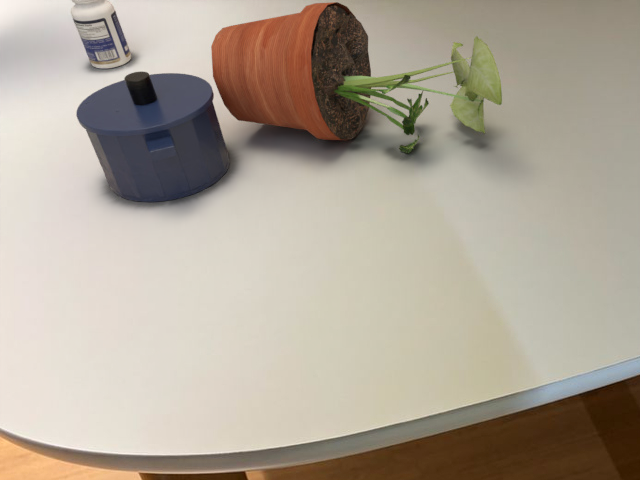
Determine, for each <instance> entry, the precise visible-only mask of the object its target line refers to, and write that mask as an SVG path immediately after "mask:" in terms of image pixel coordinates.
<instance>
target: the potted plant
mask: <svg viewBox="0 0 640 480" xmlns="http://www.w3.org/2000/svg"><path fill="white" fill-rule="evenodd" d="M452 43H453V44H452V48H451V55H450V60H451V61H449V62H444V63H442V64H441V63H440V64H438V65H434V66H429V67H426V68H422V69H417V70H413V71H408V72H403V73H397V74H390V75H385V76H378V77H375V76H372V70H371V69H372V68H371V60H370V55H369V35H368V33H367V32H366V29H365V28H364V26H363V24H362V22H361V21H360V20H359V19H358V18H357V17H356V16H355V14H354V13H353V12H352V10H350V8H349V7H348V6H346V5H345V4H342V3H340V2H338V1H335V2H333V1H332V2H316V3H312V4H308V5H305V6H304V8H302V10H301V11H300V12H297V13H291V14H286V15H280V16H276V17H275V16H274V17H269V18H264V19H260V20H254V21H249V22H243V23H238V24H234V25H229V26H225V27H222V28H221V29H220V30H219V31H218V32H217V33H216V34H215V36H214V39H213V41H212V44H211V47H210V48H211V49H210V50H211V65H212V78H213V80H214V83H215V86H216V88H217V91H218V93H219V96H220V98H221V101H222V104H223V105H224V107H225V108H226V109H227V110H228V112H229V113H230V114H231V116H233V117H234V118H235V119H236V120H237V121H239V122H248V123H257V124H263V125H269V126H275V127H282V128H289V129H297V130H302V131H303V130H304V131H307V132H308V133H310V135H312V136H313V137H315V138H316V139H317V140H324V141H350V140H353V138H355V137H356V136H358V135H359V134H360V132H361V130H362V129H363V127H364V125H365V123H366V120H367V116H368V113H369V110H370V109H371V110H373V111H375V112H377V113H379V114H381V115H382V116H384V117H386V119H388V120H389V121H390V122H391V123H392V124H394V125H396V126H397V127H399V128H400V129H402V130H403V133H404V135H406V136H410V135H411V136H413V135H414V134H415V131H416V130H415V125H416V123H417V119H418V118H419V116H421V114H423V112H424V111H425V110H426V108H427V107H428V105H430V104H429V103H430V102H429V100H428V98H427V97H426V98H425V99H424V104H423V105H422V104H421V102H422V97H423V93H424V91H425V92H430V93H436V94H440V95H444V96H448V97H453V99H452V101H451V103H450V105H449V107H450V109H451V112H452V114H453V116H454V117H455V118H456V119H457V120H458V121H460V122H461V124H462V125H464V126H465V127H467V128H470V129H472V130H473V131H475V132H477V133H479V132H480V133H482V134H484V135H485V134H486V130H485V129H486V128H485V113H484V110H485V109H484V100H485V99H486V100H487V101H488V102H489V101H490V102H492V103H493V104H495V105H498V106H501V105H502V104H503V95H502V93H503V92H502V81H501V76H500V73H499V68H498V67H497V66H498V65H497V63H496V60H495V57H494V55H493V53H492V51H491V49H490V47H489V45H488V43H486V42H484V40H483V39H482V38H479V36H477V35H476V36H475V37H474V39H473V46H472V53H471V56H470V57H466V58H464V57H463V56H462V54H461V53H460V52H459V51H458V48H461V47H463V46H464V43H461V42H455V41H454V42H452ZM469 59H471V60H470V65H469V62H468V61H467V60H469ZM449 65H452V69H453V71H448V72H443V73H439V74H433V75H429V76H425V77H421V78H416V79H411V78H412V77H414V76H417V75H420V74H424V73H427V72H431V71H433V70H437V69H439V68H442V67H446V66H449ZM449 74H454V77H455V81H456V85H454V87H455V88H456V89H459V90H458V91H457V92H456V94H453V93H449V92H445V91H440V90H435V89H431V88H428V87H424V86H419V85H416V84H414V83H420V82H422V81H427V80H430V79H433V78H437V77H441V76H446V75H449ZM458 86H460V88H459V87H458ZM378 88H379V89H378ZM395 89H407V90H408V89H409V90H417V91H421V93H418V95H417V96H418V97H417V98H416V100H415V101H414V103H413V100H412V98H407V103H409V105H407V104H406V103H403V102H402V101H399V100H397V99H396V98H395V97H392V96H389V95H387V93H389V92H391V91H393V90H395ZM371 97H375V98H379V99H382V100H386V101H390V102H393V103H394V104H395V105H396V106H399V108H400V107H401V108H403V109H404V110H407V111H408V115H407V114H405V113H404V112H403V111H401V110H399V109H397V108H395V107H394V106H390V105H387V104H385V103H383V102H380V101H377V100H376V99H373V98H371ZM372 104H374V105H377V106H380V107H382V108H386V109H387V110H388V111H389V112H391V113H393V114H394V115H397V116H399V117H401V118H403V120H401V122H400V121H398V120H397V119H396V118H394V117H393V116H391V115H389V114H387V113H386V112H384V111H382V110H380V109H379V108H377V107H376V106H374V105H372ZM420 138H421V136H420V135H419V134H417V138H416V139H414V141H413V142H411V143H408V144H405V145H403V144H400V145H399V147H398V150H399V151H400V152H401V153H404V154H409V153H411V151H413V150H414V148H415V146H416V144H418V141H419V139H420Z"/></svg>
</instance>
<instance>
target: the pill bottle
mask: <svg viewBox="0 0 640 480" xmlns="http://www.w3.org/2000/svg"><path fill="white" fill-rule="evenodd" d="M71 2H72V3H73V4H74V5H73V6H72V7H71V9H70V14H71V17H72V20H73V23H74V26H75V28H76V30H77V33H78V36H79V38H80V40H81V43H82V45H83V47H84V50H85V53H86V55H87V57H88V60H89V62H90V64H91V65H92V67H94V68H97V69H112V68H117V67H120V66H123V65H126V64H127V63H129V61H130V60H131V59H132V53H131V51H130V47H129V44H128V42H127V39H126V35H125V33H124V31H123V28H122V26H121V23H120V20H119V17H118V15H117V12H116V9H115V7H114V5H113V3H112V2H110V1H109V0H71Z"/></svg>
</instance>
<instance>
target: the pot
mask: <svg viewBox="0 0 640 480" xmlns="http://www.w3.org/2000/svg"><path fill="white" fill-rule="evenodd" d="M213 101H214V100H213ZM213 101H212V103H211V105H210V106H209V107H208V108H207V109H206V110H205V111H204V112H203V113H201V114H200V115H198V116H197V117H195V118H193V119H192V120H190V121H188V122H185V123H183V124H181V125H178V126H176V127H173V128H170V129H166V130H163V131H159V132H155V133H150V134H144V135H136V136H105V135H100V134H95V133H92V132H90V131H88V130H86V129H85V131H86V134H87V136H88V138H89V140H90V143H91V145H92V148H93V150H94V152H95V155H96V158H97V160H98V162H99V165H100V168H101V169H102V171H103V173H104V176H105V178H106V181H107V184H108V186H109V187H110V188H111V190H112V191H113V192H114V193H115V194H116V195H117V196H119V197H121V198H122V199H125V200H129V201H134V202H140V203H141V202H142V203H157V202H168V201H173V200H177V199H182V198H185V197H189V196H191V195H194V194H197V193H199V192H201V191H203V190H205V189H208V188H209V187H211V186H212V185H214V184H215V183H217V182H218V181H220V179H221V178H222V177H224V176H225V174H226V173H227V172H228V170H229V168H230V155H229V151H228V149H227V144H226V142H225V138H224V135H223V131H222V129H221V125H220V121H219V118H218V114H217V111H216V108H215V104H214V102H213Z"/></svg>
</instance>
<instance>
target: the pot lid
mask: <svg viewBox="0 0 640 480" xmlns="http://www.w3.org/2000/svg"><path fill="white" fill-rule="evenodd" d="M212 101H214V90H213V86H212V85H211V84H210V83H209V82H208V81H207V80H206V79H204V78H202V77H200V76H197V75H194V74H193V75H192V74H188V73H177V72H176V73H175V72H173V73H172V72H166V73H152V74H151V73H149V72H147V71H135V72H130V73H128V74H126V75H125V76H124V78H123V80H120V81H117V82H114V83H111V84H108V85H106V86H104V87H102V88H100V89H98V90H96V91H95V92H94V91H93V92H92V93H91V94H89V95H88V96H87V97H86V98H84V99H83V100H82V101H81V102H80V103H79V105H78V107H77V109H76V111H75V112H76V113H75V114H76V118H77V121H78V124H79V125H80V126H81V128H83V129H84V130H85V131H86V130H88V131H90V132H92V133H95V134H100V135H105V136H136V135H144V134H150V133H155V132H159V131H163V130H166V129H170V128H173V127H176V126H178V125H181V124H183V123H185V122H188V121H190V120H192V119H193V118H195V117H197V116H198V115H200V114H201V113H203V112H204V111H205V110H206V109H207V108H208V107H209V106H210V105H211V103H212Z"/></svg>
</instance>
